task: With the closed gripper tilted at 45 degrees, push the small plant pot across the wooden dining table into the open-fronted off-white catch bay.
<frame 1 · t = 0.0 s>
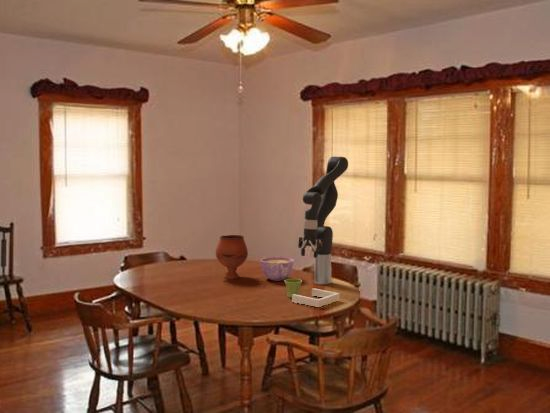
hand: (309, 256, 314), 17 cm above the table, tool pointing down, fingers open, 8 cm apart
goblet: (231, 277, 340), on the table
catch bay: (314, 301, 285), on the table
plant pot: (293, 297, 294), on the table
bowl of food: (277, 279, 335), on the table
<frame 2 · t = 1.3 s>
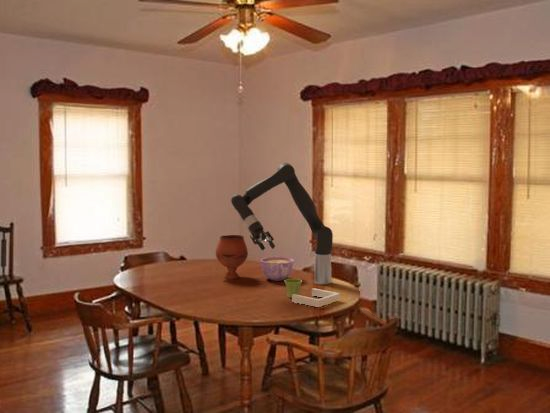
hand: (268, 248, 303), 24 cm above the table, tool tilted 45°, fingers open, 8 cm apart
nothing on the table moved.
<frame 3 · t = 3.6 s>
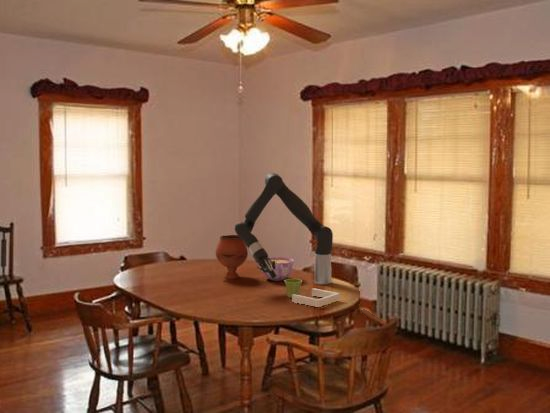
hand: (274, 277, 302), 8 cm above the table, tool tilted 45°, fingers closed
nothing on the table moved.
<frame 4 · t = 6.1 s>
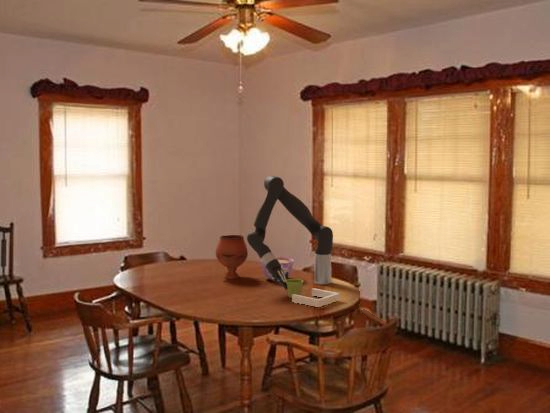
hand: (288, 288, 296), 4 cm above the table, tool tilted 45°, fingers closed
plant pot: (294, 297, 294), on the table, touching gripper
everything else where it was.
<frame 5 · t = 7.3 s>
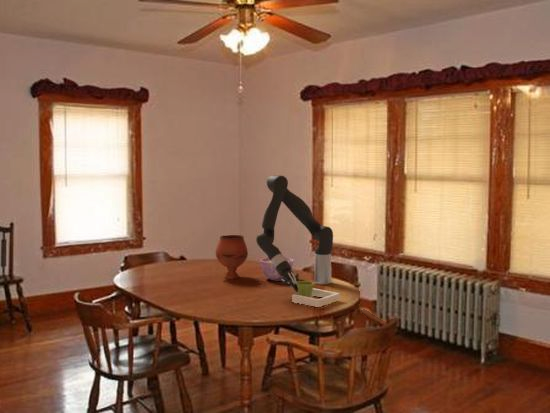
hand: (298, 291, 291), 4 cm above the table, tool tilted 45°, fingers closed
plant pot: (305, 299, 289), on the table, touching gripper
everything else where it was.
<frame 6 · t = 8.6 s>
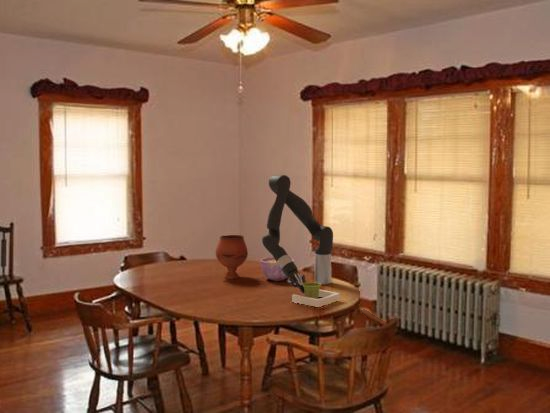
hand: (305, 292, 289), 4 cm above the table, tool tilted 45°, fingers closed
plant pot: (311, 301, 286), resting in catch bay, touching gripper
everything else where it was.
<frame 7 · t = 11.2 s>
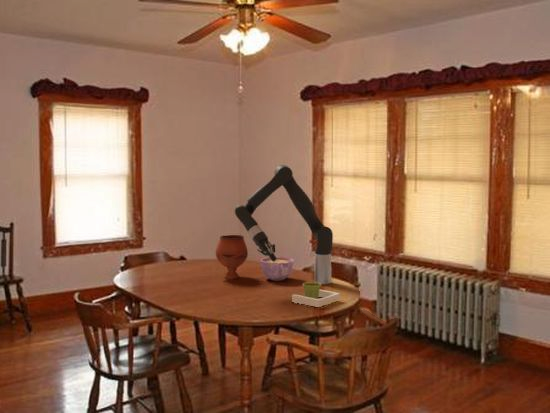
hand: (275, 260, 301), 18 cm above the table, tool tilted 45°, fingers closed
plant pot: (311, 301, 286), resting in catch bay
everything else where it was.
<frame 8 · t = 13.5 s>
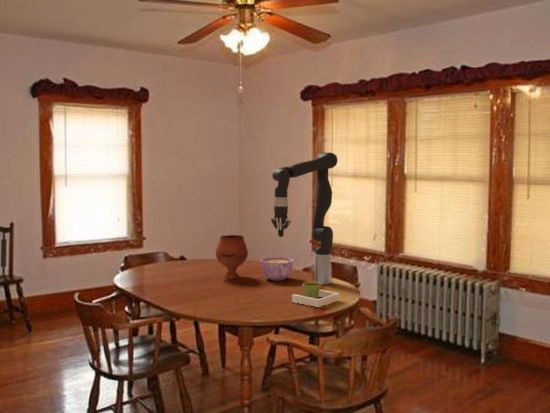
hand: (280, 236, 310), 29 cm above the table, tool pointing down, fingers closed
nothing on the table moved.
at the end: plant pot inside the target area on the catch bay (2.7 cm from its centre), point 0.0 cm above the catch bay's base; plant pot tilted 0° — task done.
